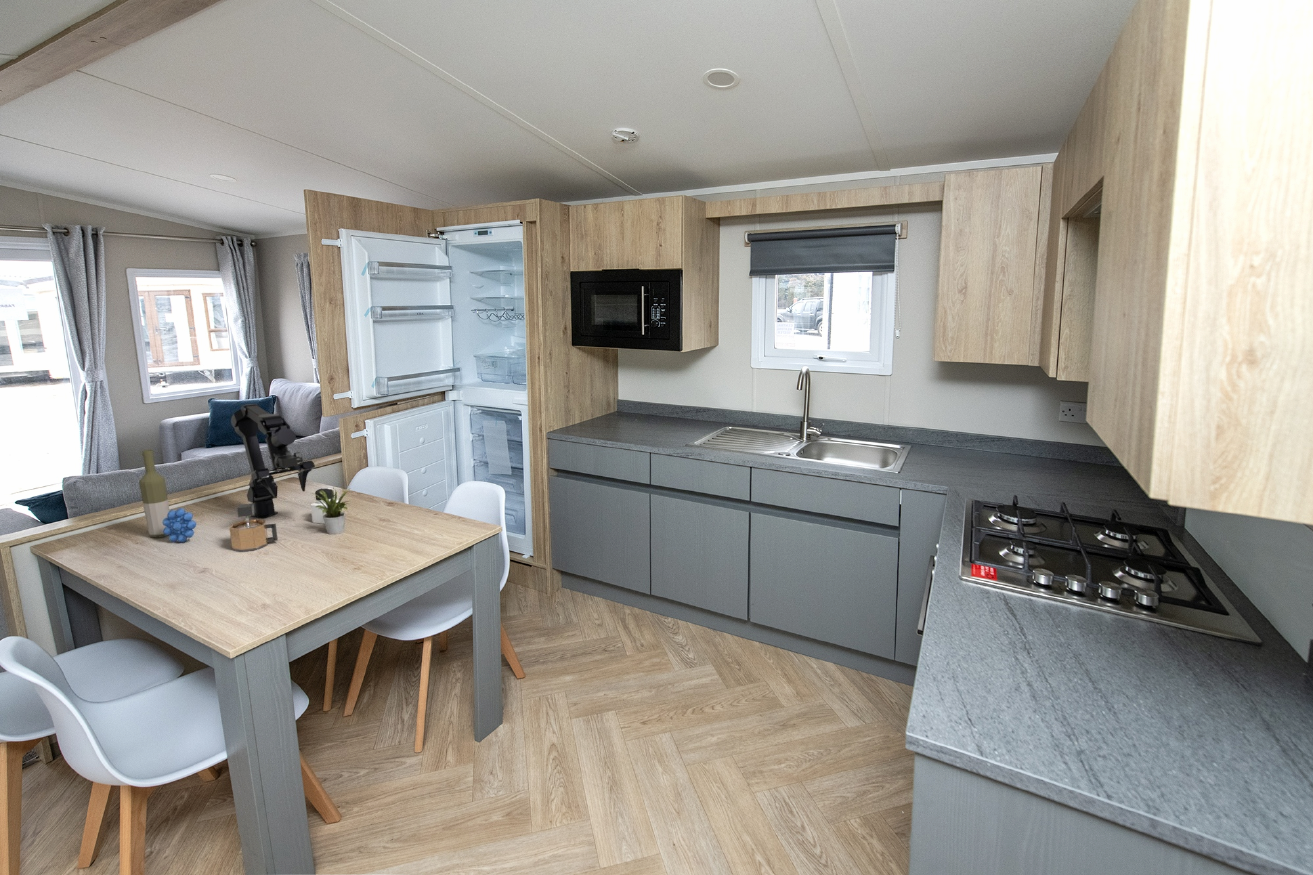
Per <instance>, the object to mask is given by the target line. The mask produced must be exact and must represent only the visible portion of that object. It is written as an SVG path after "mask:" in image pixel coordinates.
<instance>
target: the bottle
mask: <svg viewBox="0 0 1313 875" xmlns="http://www.w3.org/2000/svg"><path fill="white" fill-rule="evenodd" d="M141 455H142V457H143V458H142V459H143V464H144V469H145V472H144V474H143V476H142V477H141V478H140V480H139V482H138V486H139V490H140V495H141V500H142V505H143V510H144V515H145V521H146V526H147V530H148V536H150V537H151V538H163V537H167V536H168V535H165V534H164V533H163V530H164V528H165V527H167V526H164V525H163V523H162V522H163V520H164V518H167V514H168V512H169V511H170V505H169V496H168V491H167V483H166V479H165V477H164V476H162V474H159V473H158V472H157V471H156V466H155V460H154V452H153V450H152V449H145V450H141Z"/></svg>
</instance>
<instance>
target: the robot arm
mask: <svg viewBox="0 0 1313 875" xmlns="http://www.w3.org/2000/svg"><path fill="white" fill-rule="evenodd" d="M230 423H231V426H232V428H234V432H235V433H236V434H237V435H238V436H240V438H242V441H243V445H244V449H245V453H246V457H247V462H248V465H249V468H250V469H249V470H250V474H251V475H250V479H249V480H250V481H249V482H248V486H249V487H248V490H247V493H246V499H247V501H248V502H250V503H253V504H254V511H255V512H254V514H253V516H250V517H252V518H257V519H266V518H268V517H271V516H274V515H277V514H279V512H278V511H276V509H275V503H274V499H277V498H278V487H279V486H278V485H277V483H276V482H275V479H274V475H280V474H285V473H291V472H297V471H298V473H297V475H298V476H297V477H298V480H299V485H300V488H301V491H302V492H303V493H304V492H306V485H307V477H308V475H309V473H310V472H312V470H314V469H315V468H316V466H315V465H316V464H315V462H314V461H313V460H306V461H303V460H304V458H303V455H302V453H301V452H298V451H297V452H294V453H293V455H292V453H291V451H290V450H289V449H288V447H289V446H290V445H292V444H293V443H294V442H295V441H296V438H297V437H296V433H295V432H294V431H293V430H292V429H291V425H289V423H287V421H286V420H285V418H284V417H282V415H281V414H278V413H269V412H268V411H266V410H265V409H263V408H261V407H260V406H259V404H256V403H251V404H250V403H249V404H243V405H241V407H240V409H238V410H237V411H235V412H234V413H233V414H232V416H231V419H230ZM259 431H260V432H261V433H262V434H264V435H267V436H266V438H265V442H266V446H267V449H268V452H269V456H268V457H269V460H271V464H272V468H271V469H269V468H268V467H266V466H265V463H264V462H265V461H264V459H263V454H262V449H261V447H260V442H259V439H258V435H257V434H258V432H259Z"/></svg>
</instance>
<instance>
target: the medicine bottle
mask: <svg viewBox="0 0 1313 875" xmlns="http://www.w3.org/2000/svg"><path fill="white" fill-rule="evenodd" d="M321 490H322V491H321ZM332 490H333V497H334V498H335V496H334V495H335V490H334V489H333V488H331V487H322V488H319V489H317V490H315V492H314V495H315V494H316V495H315V497H317V498H315V502H314V503H311V504H310V510H311V519H312V523H313V524H323V525H325V522H324V519H323V516H324V515H325V514H327V513H326V512H324V513H323V510H324V509H323V510H321V509H318V508H320V507H316V506H318V505H322V506H323V504H324V505H325V506H326V507H327V505H326V504H325V503H324V502H323V501H322V500H321V499H320V498H318V496H319V497H322V498H324V497H323V496H322V494H321V493H320V492H322V493H323V494H324V492H325V493H326V495H327V497H328V499H329V501H330V499H332V498H333V497H332ZM323 491H324V492H323ZM317 495H318V496H317ZM324 495H325V494H324ZM324 499H325V498H324ZM318 500H320V501H321V502H322V503H323V504H322V503H321V502H319V501H318ZM338 501H339V499H337V501H336V505H337V503H338ZM340 503H342V501H341V502H340ZM327 509H329V508H328V507H327Z"/></svg>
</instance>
